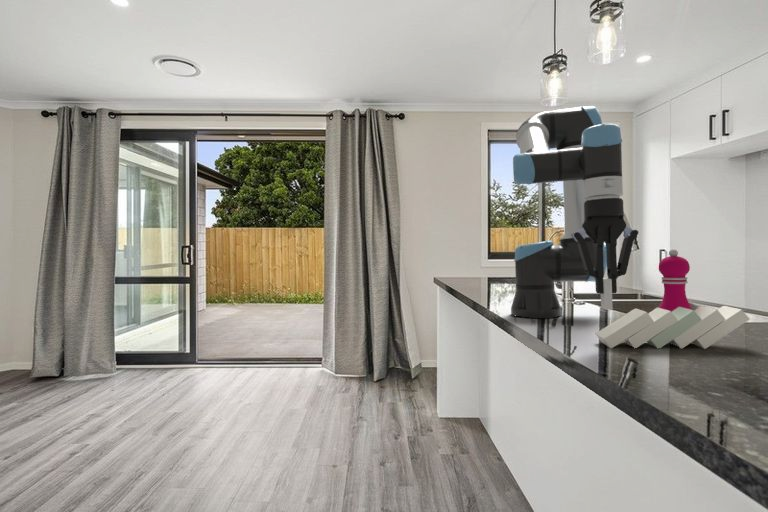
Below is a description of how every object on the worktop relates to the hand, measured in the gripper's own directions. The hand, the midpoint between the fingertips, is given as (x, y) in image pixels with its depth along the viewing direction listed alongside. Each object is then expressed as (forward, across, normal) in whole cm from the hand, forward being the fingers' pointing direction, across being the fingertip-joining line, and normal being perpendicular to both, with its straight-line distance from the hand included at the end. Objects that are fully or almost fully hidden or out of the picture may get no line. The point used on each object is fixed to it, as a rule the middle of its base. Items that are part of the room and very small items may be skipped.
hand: (606, 308), depth 92 cm
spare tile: (+7, +8, 0) cm, 11 cm away
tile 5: (+7, +16, 0) cm, 18 cm away
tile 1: (+7, -1, 0) cm, 7 cm away
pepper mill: (+8, +18, +11) cm, 23 cm away
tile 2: (+7, +4, 0) cm, 8 cm away
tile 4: (+7, +12, 0) cm, 14 cm away
